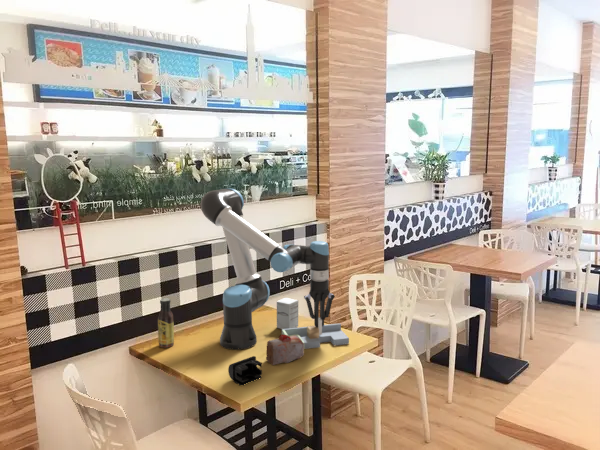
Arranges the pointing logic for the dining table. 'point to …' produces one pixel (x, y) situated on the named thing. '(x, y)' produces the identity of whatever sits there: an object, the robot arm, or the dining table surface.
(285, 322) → the supplement box
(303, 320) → the dining table surface
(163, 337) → the sauce bottle
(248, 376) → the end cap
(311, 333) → the oak block
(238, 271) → the robot arm
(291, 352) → the food item
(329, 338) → the tray
